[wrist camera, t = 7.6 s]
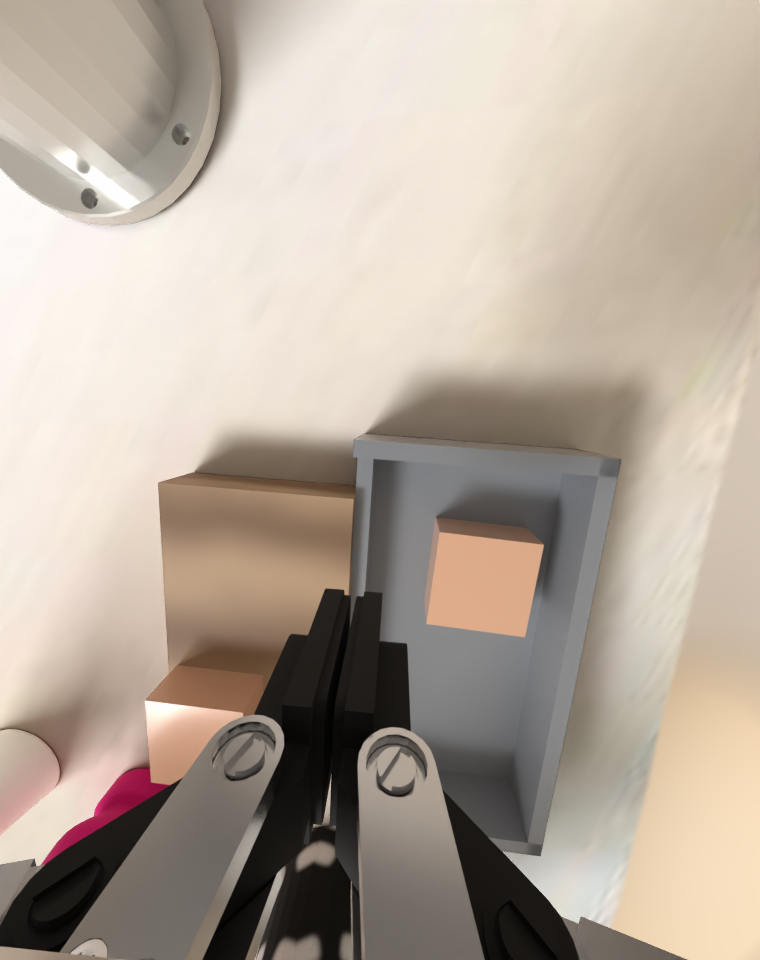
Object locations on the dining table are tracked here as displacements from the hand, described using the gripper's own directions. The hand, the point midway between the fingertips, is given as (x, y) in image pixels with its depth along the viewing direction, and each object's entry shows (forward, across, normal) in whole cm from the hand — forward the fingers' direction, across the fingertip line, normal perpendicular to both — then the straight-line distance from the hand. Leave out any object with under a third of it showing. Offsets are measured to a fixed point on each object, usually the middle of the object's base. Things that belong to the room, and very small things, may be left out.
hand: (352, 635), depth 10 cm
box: (+10, -5, +6) cm, 13 cm away
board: (+10, +6, +6) cm, 14 cm away
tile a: (+7, -6, +2) cm, 10 cm away
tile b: (+7, +8, +11) cm, 16 cm away
